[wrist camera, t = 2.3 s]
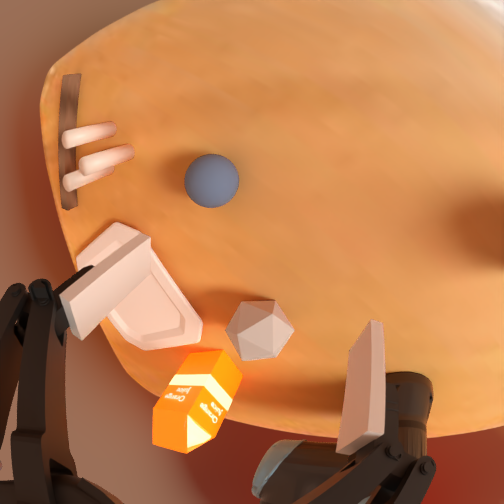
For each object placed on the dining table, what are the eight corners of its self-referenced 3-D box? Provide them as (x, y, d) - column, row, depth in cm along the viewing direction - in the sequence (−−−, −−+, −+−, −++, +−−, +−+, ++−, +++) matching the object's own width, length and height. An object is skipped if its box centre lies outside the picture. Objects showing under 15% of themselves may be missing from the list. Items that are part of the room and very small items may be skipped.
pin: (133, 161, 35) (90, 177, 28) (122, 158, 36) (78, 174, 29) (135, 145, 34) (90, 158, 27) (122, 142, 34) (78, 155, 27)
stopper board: (77, 205, 43) (67, 210, 41) (71, 203, 44) (61, 207, 41) (81, 73, 31) (69, 74, 28) (74, 74, 31) (63, 75, 29)
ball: (240, 204, 34) (221, 222, 29) (197, 191, 34) (171, 206, 29) (250, 157, 30) (231, 167, 25) (204, 145, 31) (177, 153, 26)
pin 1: (115, 137, 34) (71, 149, 27) (105, 136, 35) (61, 147, 28) (116, 121, 33) (71, 131, 26) (106, 120, 33) (61, 130, 26)
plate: (76, 258, 51) (69, 263, 49) (135, 206, 39) (125, 212, 38) (140, 346, 58) (135, 352, 56) (219, 331, 46) (214, 340, 44)
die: (238, 281, 40) (204, 340, 37) (279, 289, 33) (240, 361, 30) (272, 308, 44) (243, 360, 41) (313, 318, 37) (281, 380, 34)
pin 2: (114, 175, 37) (72, 193, 30) (103, 172, 38) (63, 189, 31) (114, 160, 36) (71, 176, 29) (104, 158, 37) (62, 173, 30)
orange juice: (243, 376, 50) (202, 464, 33) (209, 377, 54) (166, 454, 37) (223, 348, 48) (171, 441, 31) (188, 352, 52) (136, 431, 35)
